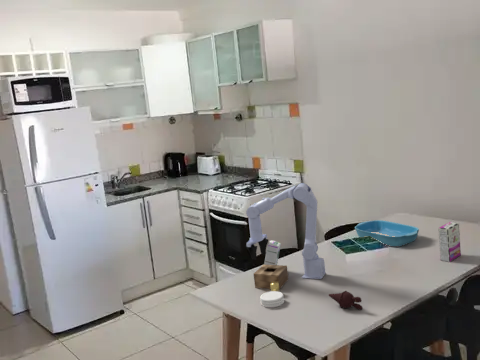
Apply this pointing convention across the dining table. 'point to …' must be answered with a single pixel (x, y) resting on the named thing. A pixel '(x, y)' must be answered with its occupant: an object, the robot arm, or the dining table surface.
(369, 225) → the casserole dish
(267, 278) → the box
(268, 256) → the syrup box
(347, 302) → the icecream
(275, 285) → the cylinder
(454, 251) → the candy bar box
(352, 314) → the dining table surface
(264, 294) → the coaster
